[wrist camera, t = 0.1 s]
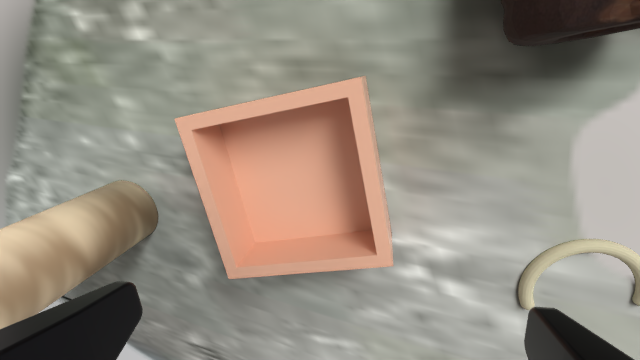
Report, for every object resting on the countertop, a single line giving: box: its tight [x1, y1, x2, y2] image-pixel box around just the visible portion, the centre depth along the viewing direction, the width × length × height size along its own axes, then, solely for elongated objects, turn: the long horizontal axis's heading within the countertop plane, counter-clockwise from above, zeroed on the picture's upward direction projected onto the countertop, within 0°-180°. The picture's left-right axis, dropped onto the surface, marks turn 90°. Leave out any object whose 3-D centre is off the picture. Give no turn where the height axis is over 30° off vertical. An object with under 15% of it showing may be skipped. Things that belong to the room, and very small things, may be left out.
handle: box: [518, 239, 640, 310], centre depth 21 cm, size 8×1×5 cm
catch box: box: [175, 76, 393, 279], centre depth 20 cm, size 11×11×4 cm
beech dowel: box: [0, 180, 158, 329], centre depth 20 cm, size 5×5×13 cm
